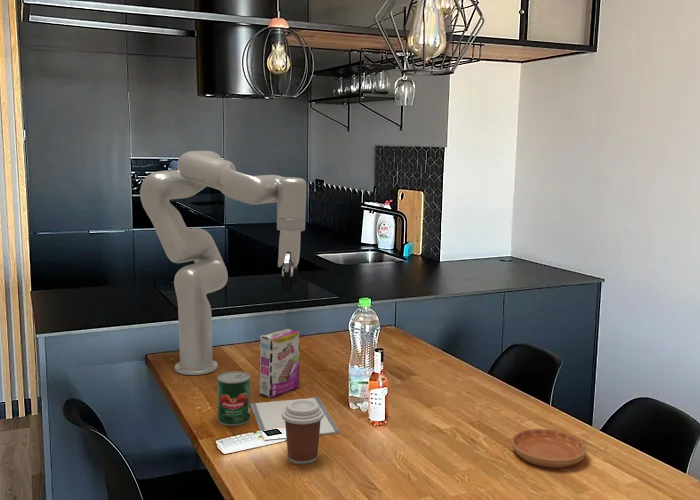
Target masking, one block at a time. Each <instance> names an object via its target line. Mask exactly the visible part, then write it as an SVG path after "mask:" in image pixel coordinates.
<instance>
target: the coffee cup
mask: <svg viewBox="0 0 700 500" xmlns="http://www.w3.org/2000/svg"><path fill="white" fill-rule="evenodd" d="M297 399H298V400H296V399H292V400H293V401H291V402H289V403H288V404H287V405H286V408H285V409H284V410H283V411H282V419H284V420H285V426H286V437H287V439H286V448H287V459H288V460H289V461H290V463H293V464H296V465H309V464H312V463H314V462H316V461H317V459H318V457H319V455H318V453H319V444H320V442H319V441H320V435H319V433H320V423H321V420H322V418H323V417H324V412H323V410H322V409H321V408H320V407H319V404H318V403H317V402H315V401H313V400H309V399H307V398H297Z"/></svg>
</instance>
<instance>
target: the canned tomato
mask: <svg viewBox="0 0 700 500" xmlns="http://www.w3.org/2000/svg"><path fill="white" fill-rule="evenodd" d="M217 408H218V409H217V412H218V413H217V415H218V417H217V420H218V423H219V424H221V425H224V426H228V427H230V426H231V427H236V426H242V425H245V424H247V423H249V422H250V421H251V375H250V373H248V372H245V371H237V370H236V371H228V372H227V371H226V372H222V373H221V374H219V375H218V376H217Z"/></svg>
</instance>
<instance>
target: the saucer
mask: <svg viewBox="0 0 700 500" xmlns="http://www.w3.org/2000/svg"><path fill="white" fill-rule="evenodd" d="M511 446H512V448H513V450H514V451H515V453H516V454H517V455H518V456H519V457H520V458H521V459H522V460H523V461H526V462H528V463H529V464H532V465H534V466H538V467H542V468H547V469H565V468H569V467H573V466H575V465H576V464H578V463H579V462H580V461H582V460H583V459H584V458H585V457H586V455H587V445H585V443H584V442H583V441H582V440H581V439H579V438H578V437H577V436H574V435H573V434H572V435H571V434H570V433H567V432H564V431H559V430H554V429H547V428H531V429H525V430H521V431H518V432H516V433H515V434H514V435H513V436H512V438H511ZM572 465H573V466H572Z"/></svg>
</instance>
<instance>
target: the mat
mask: <svg viewBox="0 0 700 500" xmlns="http://www.w3.org/2000/svg"><path fill="white" fill-rule="evenodd" d="M298 399H299V398H297V399H295V400H298ZM306 399H309V400H313V401H315V402H317V403H318V404H319V407H320V408H321V409H322V410H323V412H324V417H323V418H322V420H321V423H320V433H319V436H323V435H324V436H325V435H333V434H340V433H341V431H340V430H339V428H338V426H337V425H336V423H335V421H334V419H333V418H332V416H331V414H330V413H329V411H328V410H327V409H326V407H325V405H324V404H323V402H322V400H321V399H320V398H319V397H318V396H317V397H316V396H315V397H309V398H306ZM293 400H294V399H287V400H277V401H275V400H274V401H266V402H265V401H264V402H250V408H251V410H252V412H253V414H254V418H255V420H256V421H255V422H256V424H257V426H258V428H259V431H264V430H269V429H274V428H285V429H286V426H285V420H284V419H282V411H283V410H284V409H285V408H286V405H287V404H288V403H289V402H291V401H293Z"/></svg>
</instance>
